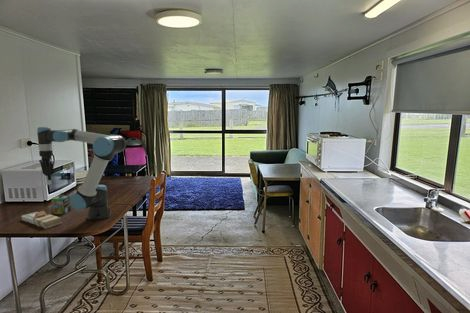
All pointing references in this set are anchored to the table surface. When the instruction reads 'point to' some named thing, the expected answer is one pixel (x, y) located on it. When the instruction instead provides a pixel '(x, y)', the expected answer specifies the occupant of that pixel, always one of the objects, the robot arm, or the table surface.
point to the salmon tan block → (40, 214)
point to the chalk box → (61, 204)
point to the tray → (27, 219)
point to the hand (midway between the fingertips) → (48, 184)
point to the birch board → (47, 221)
